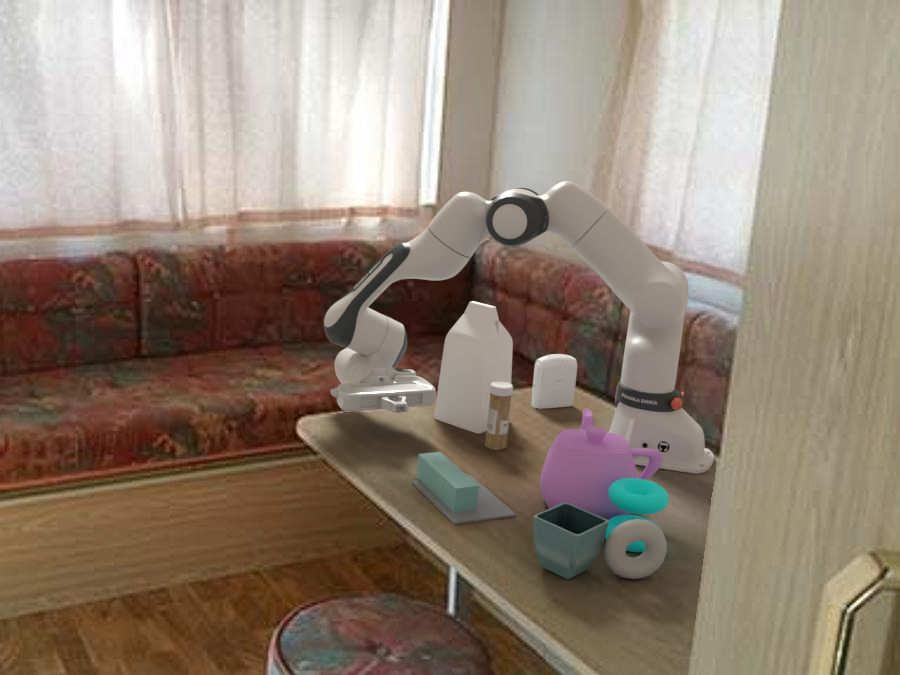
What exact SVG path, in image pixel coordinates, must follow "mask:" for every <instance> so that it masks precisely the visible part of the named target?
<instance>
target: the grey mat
mask: <svg viewBox="0 0 900 675" xmlns="http://www.w3.org/2000/svg"><path fill="white" fill-rule="evenodd" d="M466 475H467V476H468V477H470V478H471V479H472V480H473V481H474V482H475V483H476V484H478V485H479V491H478V501H477V510H469V511H461V512H453V511H452V510H451V509H450V508H448V507H447V506H446V505H445V504H444V503H443V502H442V501H441V500H440V499H439V498H438V497H437V496H436V495H435V494H434V493H433V492H432V491H431V490H430V489H429V488H428V487H427V486H426V485H425V484H424V483H423V482H422V481H421V480H420V479H416V480H411V484H413V486H415V487H416V488H417V489H418V490H419V492H420V493H422V495H423V496H424V497H425V498H427V499H428V500H429V501H430V502H431V503H432V504H433V505H434V506H435V508H436V509H438V510H439V511H440V512H441V513H442V515H444V516H445V517H446V518H447V519H448V520H449V521H450V522H451V523H452V524H453V525H459V524H461V525H462V524H468V523H469V524H470V523H475V522H483V521H491V520H500V519H506V518H514V517H517V514H516V513H515V512H514V511H513V510H512V509H510V508H509V506H507V504H505V503H504V502H502V501H501V500H500V499H499V498H498V497H497V495H496V496H495V495H494V494H493V493H492V492H491V491H490V490H489V489H487V487H486V486H484V485H483V484H482V483H481V482H479V481H478V480H477V479H476V478H475V476H473V475H471V474H466Z"/></svg>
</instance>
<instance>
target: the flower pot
mask: <svg viewBox="0 0 900 675" xmlns="http://www.w3.org/2000/svg"><path fill="white" fill-rule="evenodd" d="M608 524H609V520H607V519H604V518H602V517H600V516H597V515H595V514H593V513H590V512H588V511H586V510H583V509H581V508H579V507H576V506H574V505H572V504H569V503H562V504H559V505H557V506H555V507H553V508H551V509H549V508H548V509H546V510H543V511H542V512H539V513H537V514H535V515H533V544H534V545H533V547H534V551H535V554H536V556H537V558H538V560H539V562H540V564H541V567H543V568H544V569H545V570H548V571H550V572H551V573H553V574H556V575H558V576H560V577H561V578H563V579H567V580H570V579H572V578H574V577H575V576H577V575H580V574H581V573H584V572H585V571H587V570H588V568H590V567H591V565H592V564H593V563H594V562H595V560H596V559H597V557H598V555H599V554H600V552H601V550H602V548H603V544H604V541H605V539H606V538H605V535H606V531H607V528H608Z"/></svg>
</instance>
